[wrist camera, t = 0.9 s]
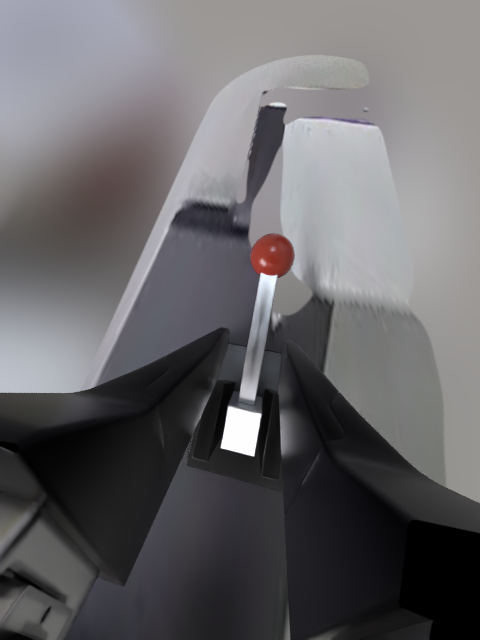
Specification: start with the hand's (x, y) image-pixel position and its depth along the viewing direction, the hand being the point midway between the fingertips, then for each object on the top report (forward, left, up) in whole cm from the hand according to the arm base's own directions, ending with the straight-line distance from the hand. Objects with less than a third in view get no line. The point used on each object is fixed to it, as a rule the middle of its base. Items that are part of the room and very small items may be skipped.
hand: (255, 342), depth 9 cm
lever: (+1, -1, -5) cm, 5 cm away
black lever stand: (-4, +2, -14) cm, 14 cm away
